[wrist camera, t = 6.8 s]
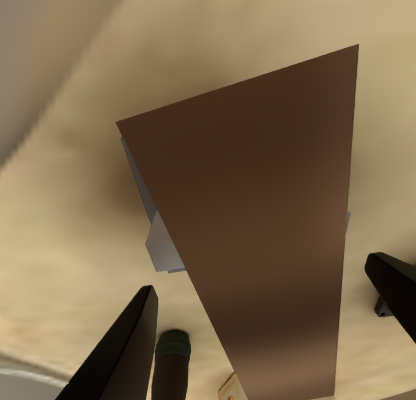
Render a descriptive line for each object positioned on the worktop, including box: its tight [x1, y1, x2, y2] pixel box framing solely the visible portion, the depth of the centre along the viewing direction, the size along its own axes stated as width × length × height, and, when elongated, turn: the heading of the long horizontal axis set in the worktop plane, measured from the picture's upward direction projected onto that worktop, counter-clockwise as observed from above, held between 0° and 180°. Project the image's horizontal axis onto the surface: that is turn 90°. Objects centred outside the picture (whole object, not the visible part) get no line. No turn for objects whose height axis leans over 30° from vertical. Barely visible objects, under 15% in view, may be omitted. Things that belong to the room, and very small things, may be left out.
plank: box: [116, 44, 359, 400], centre depth 8 cm, size 14×4×4 cm, turn 16°
